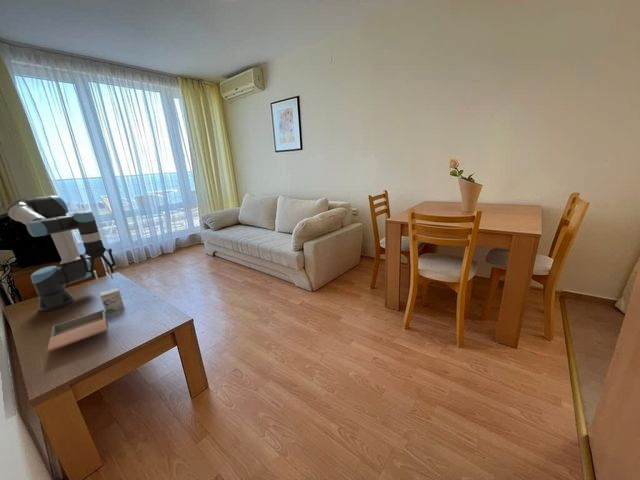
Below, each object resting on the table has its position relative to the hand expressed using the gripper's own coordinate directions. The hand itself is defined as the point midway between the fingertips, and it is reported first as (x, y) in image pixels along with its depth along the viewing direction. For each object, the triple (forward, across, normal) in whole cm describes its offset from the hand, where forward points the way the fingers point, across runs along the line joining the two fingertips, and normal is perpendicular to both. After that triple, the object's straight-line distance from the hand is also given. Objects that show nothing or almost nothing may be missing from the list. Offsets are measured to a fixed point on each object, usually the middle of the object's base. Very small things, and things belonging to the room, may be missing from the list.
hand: (105, 280), depth 142 cm
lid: (+13, -14, -25) cm, 32 cm away
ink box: (+19, 0, 0) cm, 19 cm away
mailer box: (+19, -14, -12) cm, 27 cm away
